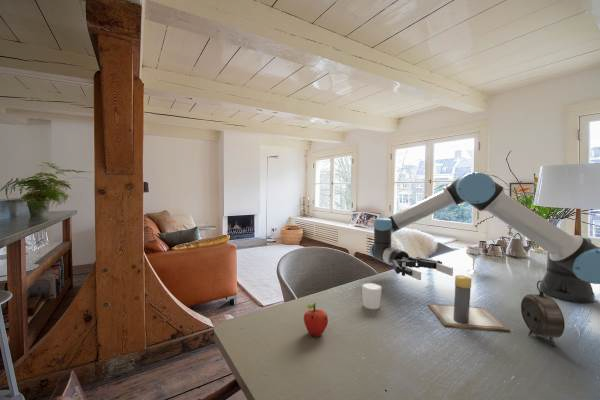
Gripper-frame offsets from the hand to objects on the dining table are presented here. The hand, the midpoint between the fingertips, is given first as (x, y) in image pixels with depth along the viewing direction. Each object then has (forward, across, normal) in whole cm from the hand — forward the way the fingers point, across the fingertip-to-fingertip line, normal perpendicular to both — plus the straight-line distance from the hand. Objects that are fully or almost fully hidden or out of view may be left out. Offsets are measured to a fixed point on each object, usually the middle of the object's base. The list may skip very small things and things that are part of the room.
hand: (436, 274), depth 90 cm
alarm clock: (+22, -14, -13) cm, 29 cm away
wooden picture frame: (+7, -4, -12) cm, 15 cm away
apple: (+3, +45, -12) cm, 47 cm away
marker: (+10, 0, -12) cm, 15 cm away
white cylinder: (-8, +20, -12) cm, 25 cm away
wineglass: (-26, -49, -13) cm, 57 cm away
